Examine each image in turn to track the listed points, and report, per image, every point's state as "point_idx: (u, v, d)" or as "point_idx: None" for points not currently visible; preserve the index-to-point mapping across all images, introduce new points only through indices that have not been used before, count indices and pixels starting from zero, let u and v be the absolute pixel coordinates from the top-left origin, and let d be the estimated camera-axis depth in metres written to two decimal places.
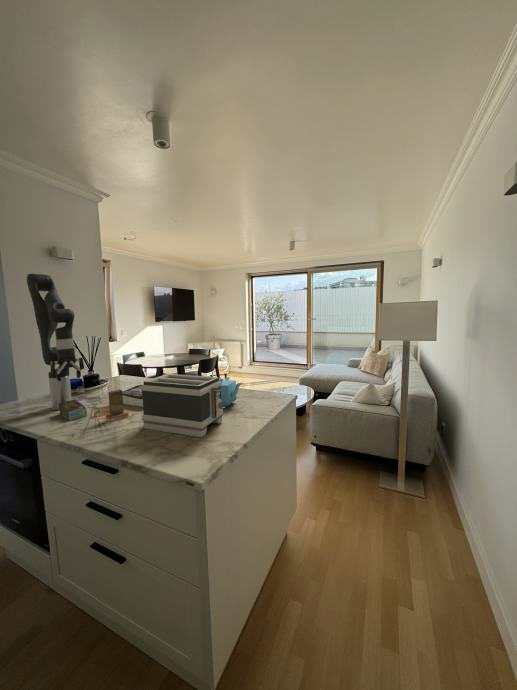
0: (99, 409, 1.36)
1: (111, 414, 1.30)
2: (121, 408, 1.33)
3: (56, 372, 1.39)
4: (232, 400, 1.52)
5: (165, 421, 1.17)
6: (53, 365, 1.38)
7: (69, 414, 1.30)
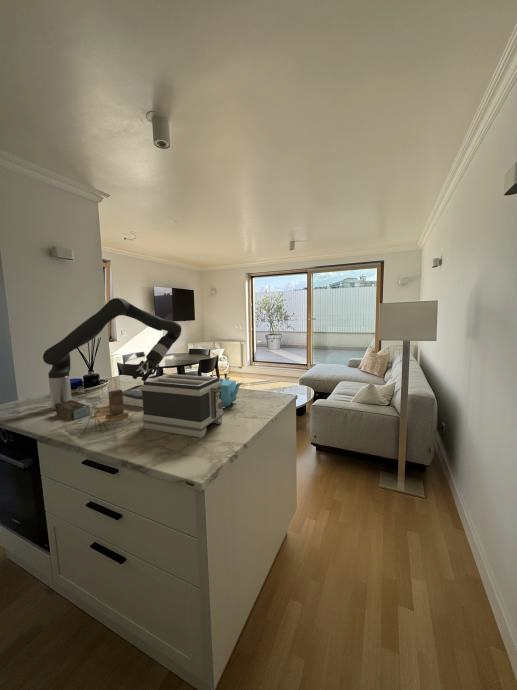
0: (99, 409, 1.36)
1: (111, 414, 1.30)
2: (121, 408, 1.33)
3: None
4: (232, 400, 1.52)
5: (164, 421, 1.17)
6: None
7: (74, 413, 1.31)
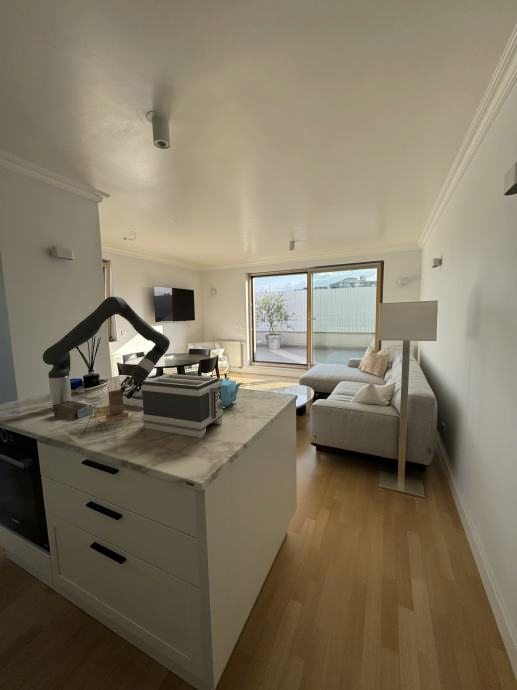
0: (99, 409, 1.36)
1: (111, 414, 1.30)
2: (121, 408, 1.33)
3: None
4: (232, 400, 1.52)
5: (164, 421, 1.17)
6: None
7: (78, 412, 1.32)
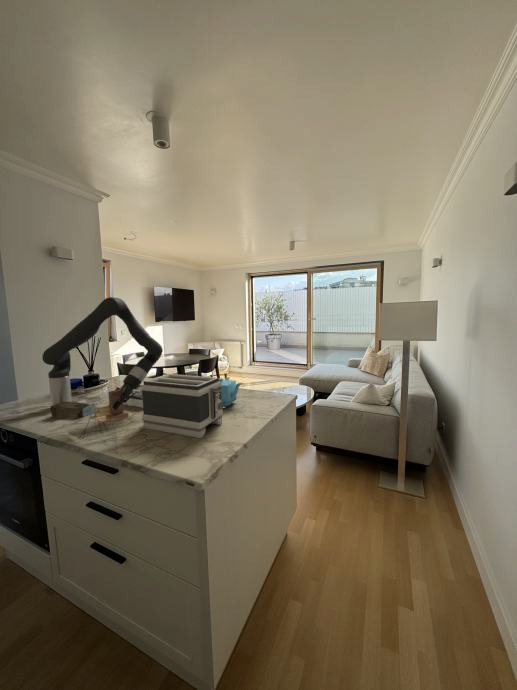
0: (99, 409, 1.36)
1: (111, 414, 1.30)
2: (121, 408, 1.33)
3: None
4: (232, 400, 1.52)
5: (164, 421, 1.17)
6: None
7: (83, 411, 1.34)
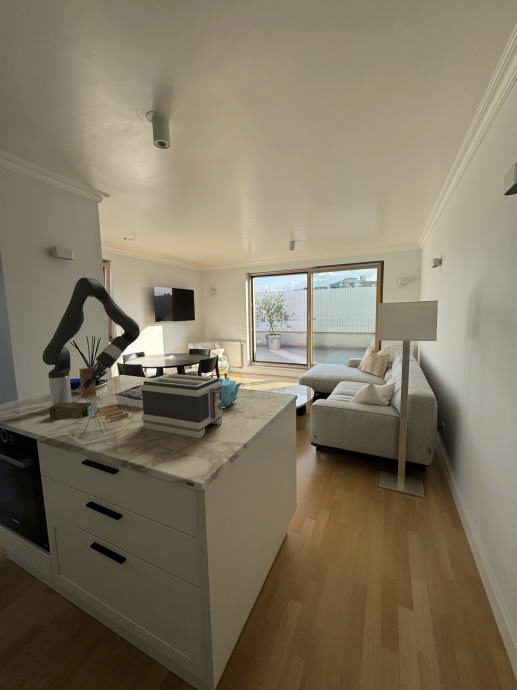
0: (99, 409, 1.36)
1: (82, 392, 1.24)
2: (93, 387, 1.26)
3: None
4: (232, 400, 1.52)
5: (164, 421, 1.17)
6: None
7: (88, 410, 1.36)
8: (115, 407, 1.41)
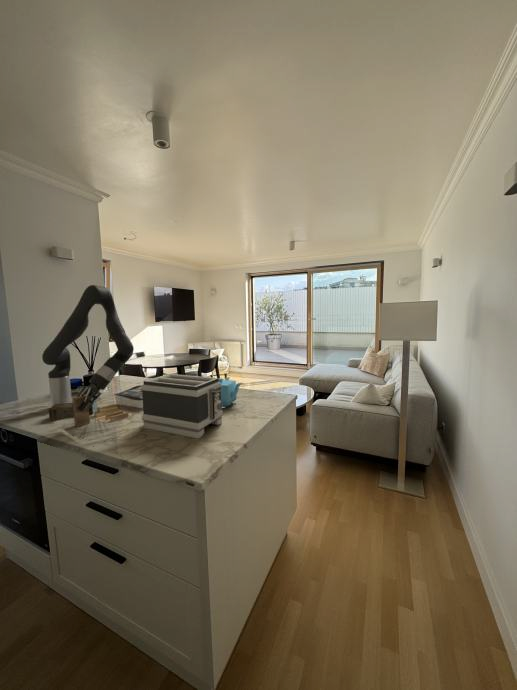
0: (99, 409, 1.36)
1: (75, 422, 1.23)
2: (87, 415, 1.25)
3: None
4: (232, 400, 1.52)
5: (163, 421, 1.17)
6: None
7: (92, 408, 1.39)
8: (115, 407, 1.41)
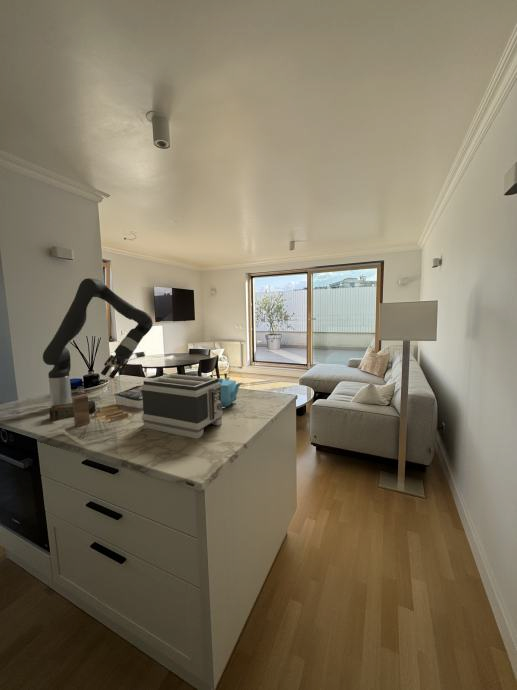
0: (99, 409, 1.36)
1: (75, 422, 1.23)
2: (87, 415, 1.25)
3: None
4: (232, 400, 1.52)
5: (163, 421, 1.17)
6: None
7: (95, 406, 1.41)
8: (115, 407, 1.41)
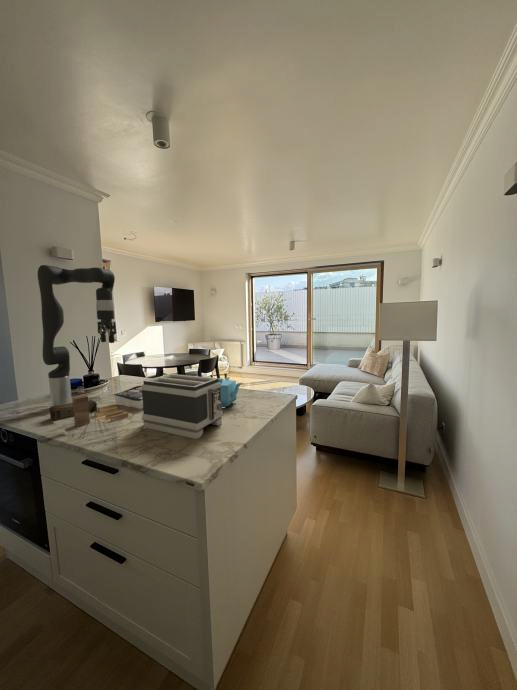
0: (99, 409, 1.36)
1: (75, 422, 1.23)
2: (87, 415, 1.25)
3: None
4: (232, 400, 1.52)
5: (163, 421, 1.17)
6: None
7: (96, 405, 1.43)
8: (115, 407, 1.41)
